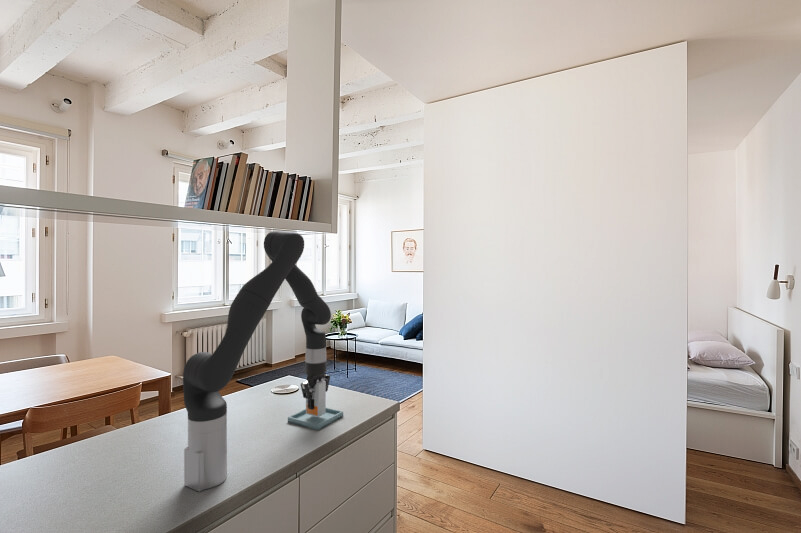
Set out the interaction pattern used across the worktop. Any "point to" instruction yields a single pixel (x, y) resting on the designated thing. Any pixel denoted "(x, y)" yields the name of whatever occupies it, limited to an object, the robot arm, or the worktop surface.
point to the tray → (315, 418)
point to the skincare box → (318, 400)
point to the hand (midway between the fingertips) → (315, 406)
